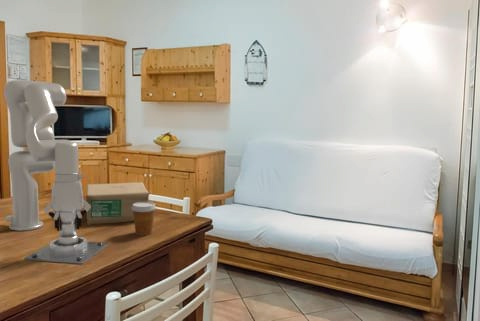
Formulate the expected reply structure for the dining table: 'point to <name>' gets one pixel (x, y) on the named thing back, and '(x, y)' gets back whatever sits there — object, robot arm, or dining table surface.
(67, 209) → the plastic bottle
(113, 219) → the paper package
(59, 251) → the duct flange
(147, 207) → the disposable coffee cup
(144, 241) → the dining table surface
